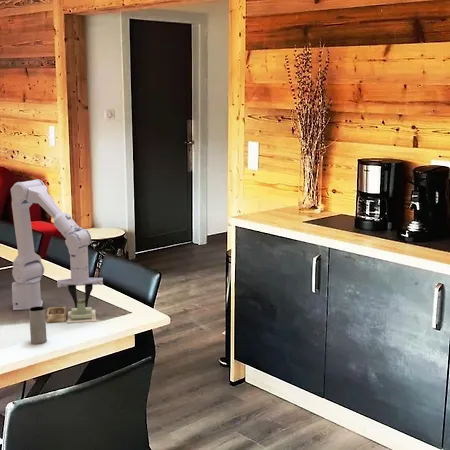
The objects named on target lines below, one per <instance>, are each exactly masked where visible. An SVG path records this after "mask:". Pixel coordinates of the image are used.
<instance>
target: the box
mask: <svg viewBox="0 0 450 450" xmlns="http://www.w3.org/2000/svg"><path fill="white" fill-rule="evenodd" d="M67 316H68V312H67V306H58V307H57V306H55V307H54V306H53V307H47V309H46V314H45V317H46V324H53V323H55V324H56V323H67Z"/></svg>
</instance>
